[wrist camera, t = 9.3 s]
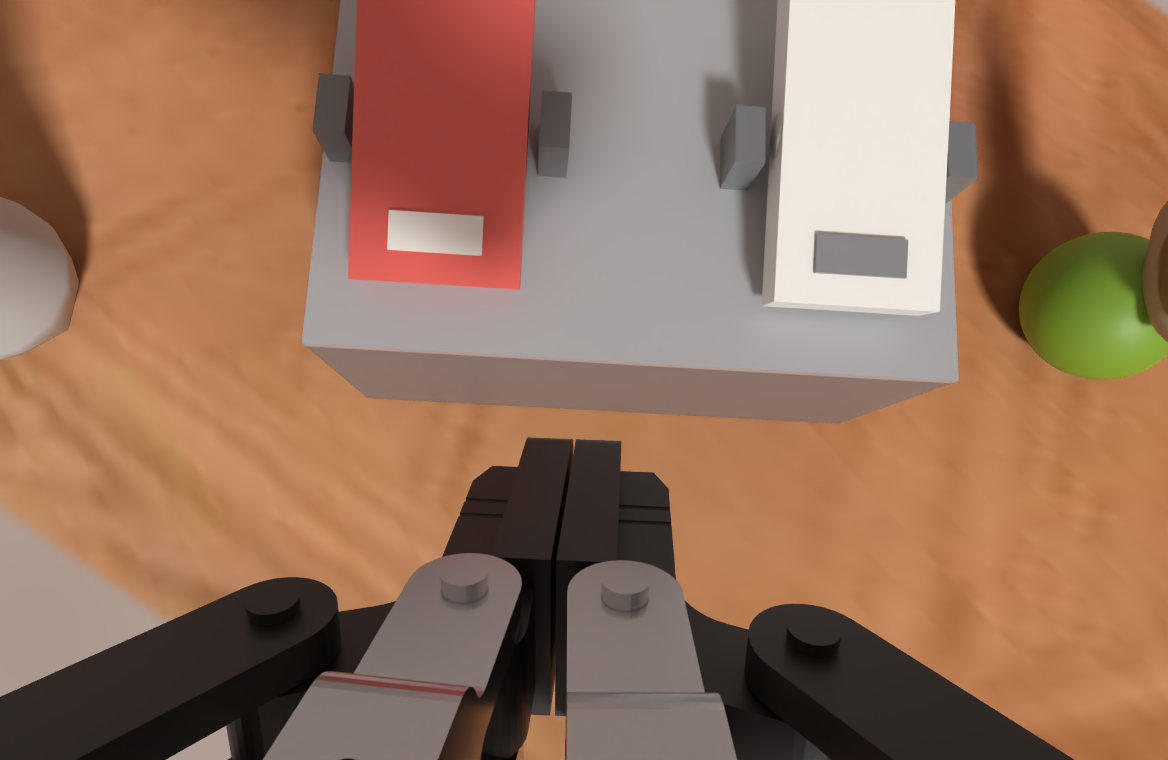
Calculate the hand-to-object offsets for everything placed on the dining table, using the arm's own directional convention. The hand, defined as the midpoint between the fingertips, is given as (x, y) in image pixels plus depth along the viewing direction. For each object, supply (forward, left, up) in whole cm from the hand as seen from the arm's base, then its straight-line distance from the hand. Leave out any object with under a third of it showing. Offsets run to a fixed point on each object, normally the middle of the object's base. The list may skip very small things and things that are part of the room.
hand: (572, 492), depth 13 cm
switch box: (-2, -10, -18) cm, 20 cm away
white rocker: (-8, -10, -7) cm, 14 cm away
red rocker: (+3, -10, -7) cm, 13 cm away
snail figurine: (-20, -9, -18) cm, 28 cm away
